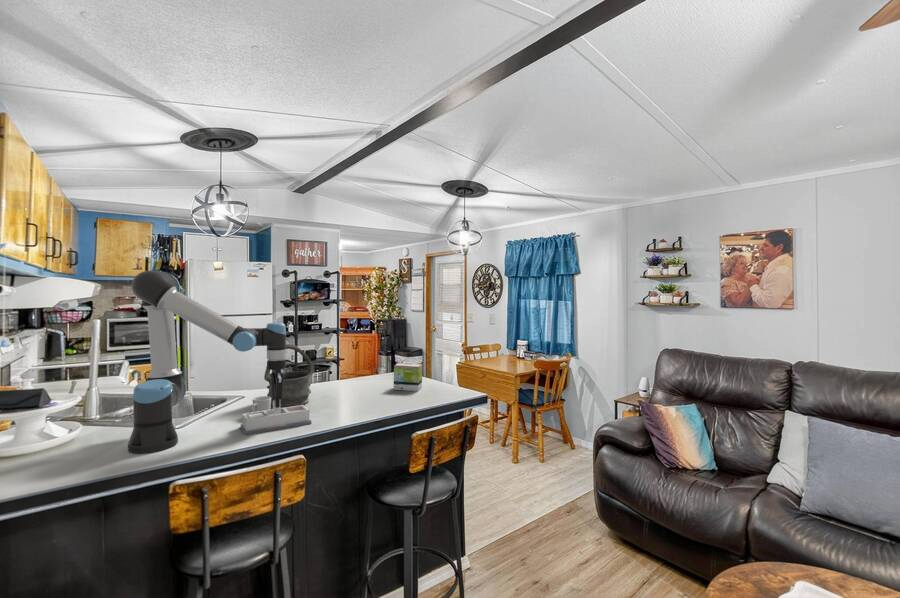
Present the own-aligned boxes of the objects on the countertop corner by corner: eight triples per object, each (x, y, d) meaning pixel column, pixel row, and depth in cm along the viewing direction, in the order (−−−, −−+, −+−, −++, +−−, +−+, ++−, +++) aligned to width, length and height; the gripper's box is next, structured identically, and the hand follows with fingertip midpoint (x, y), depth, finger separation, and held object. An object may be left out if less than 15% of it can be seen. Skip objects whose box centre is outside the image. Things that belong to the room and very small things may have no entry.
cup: (260, 420, 188) (260, 402, 188) (244, 419, 190) (244, 401, 189) (274, 413, 199) (274, 396, 198) (259, 412, 200) (259, 395, 200)
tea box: (393, 390, 246) (393, 365, 246) (398, 386, 256) (398, 362, 256) (418, 391, 244) (418, 366, 244) (422, 387, 254) (422, 363, 254)
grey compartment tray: (245, 435, 169) (245, 420, 169) (240, 427, 179) (240, 413, 178) (311, 423, 184) (311, 410, 184) (303, 416, 194) (303, 404, 193)
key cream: (250, 422, 173) (250, 417, 173) (248, 419, 177) (248, 414, 177) (263, 420, 176) (263, 415, 176) (261, 417, 180) (261, 413, 180)
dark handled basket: (274, 397, 228) (274, 342, 227) (318, 397, 228) (318, 342, 228) (257, 409, 206) (257, 347, 205) (305, 409, 206) (305, 347, 206)
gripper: (289, 360, 177) (289, 416, 178) (281, 356, 188) (282, 409, 189) (270, 362, 173) (270, 419, 174) (263, 358, 184) (263, 412, 184)
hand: (276, 414), depth 181 cm, fingers closed
